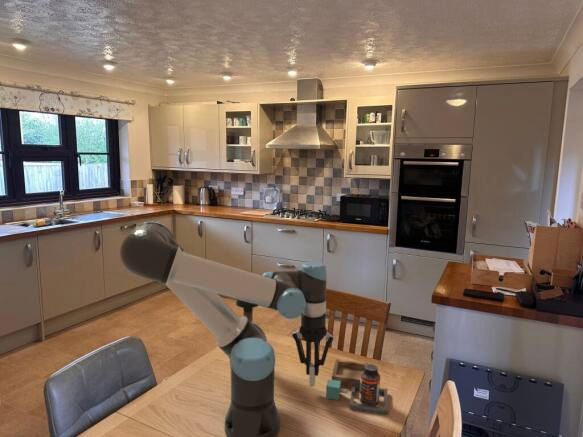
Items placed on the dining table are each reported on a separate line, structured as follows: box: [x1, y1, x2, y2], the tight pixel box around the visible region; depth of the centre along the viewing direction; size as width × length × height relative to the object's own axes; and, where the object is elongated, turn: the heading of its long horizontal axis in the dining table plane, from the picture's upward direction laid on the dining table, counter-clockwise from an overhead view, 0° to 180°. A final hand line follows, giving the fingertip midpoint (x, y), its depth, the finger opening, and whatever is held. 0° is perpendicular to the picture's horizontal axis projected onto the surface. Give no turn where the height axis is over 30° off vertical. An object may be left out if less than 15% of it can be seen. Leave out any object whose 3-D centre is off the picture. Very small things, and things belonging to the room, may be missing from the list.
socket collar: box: [349, 384, 389, 416], centre depth 126 cm, size 11×11×2 cm
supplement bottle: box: [358, 363, 381, 406], centre depth 125 cm, size 6×6×11 cm
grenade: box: [235, 299, 260, 322], centre depth 148 cm, size 8×9×30 cm
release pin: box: [325, 379, 349, 401], centre depth 128 cm, size 6×4×4 cm, turn 78°
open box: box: [331, 358, 369, 388], centre depth 139 cm, size 11×11×3 cm
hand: (312, 383), depth 130 cm, fingers closed
